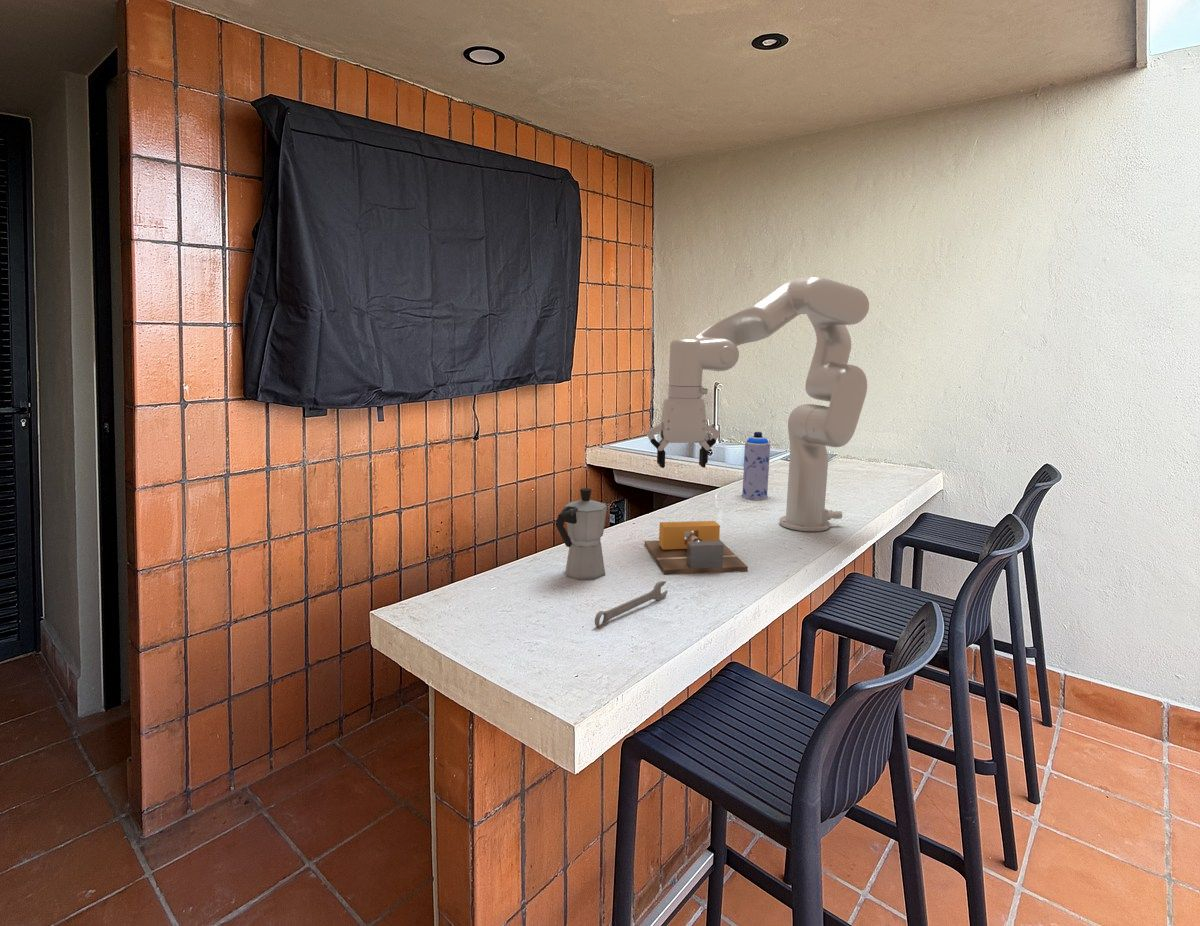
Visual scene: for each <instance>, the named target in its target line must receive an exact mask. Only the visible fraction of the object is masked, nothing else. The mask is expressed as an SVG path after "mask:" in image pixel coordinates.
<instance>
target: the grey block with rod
mask: <svg viewBox="0 0 1200 926" xmlns="http://www.w3.org/2000/svg"><path fill="white" fill-rule="evenodd" d="M685 539H687V540H688V541H689V542H687V560H686V564H687V566H688V567H689V568H690V569H700V568H723V547H724V545H723V544H722V543H721V542H720V541H702V540H701V539H699V538H698V537H697V536H696V535H695V534H694V531H685Z"/></svg>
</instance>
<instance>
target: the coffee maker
mask: <svg viewBox="0 0 1200 926" xmlns="http://www.w3.org/2000/svg"><path fill="white" fill-rule="evenodd" d="M579 490H580V491H579V492H580V498H581V499H579V500H574V501H570V502H568V503H567V504H565V505H564V507H563V508H562V510H561V512H560V513H559V514H558V515H557V519H556V521H555V527H556V528H557V531H558V533H559V534H560V535H559V536H560V537H561V539H562V541H563V543H564V545H565V547H568V553H567V559H566V565H565V575H566V577H568V578H571V579H574V580H577V581H595V580H598V579H600V578H603V577H605V576H606V569H605V562H604V555H603V550H602V549H603V548H602V542H601V538H602V537H603V536H604V532H605V523H606V516H607V510H608V505H607V503H606V502H600V501H596V500H593V499H591V494H592V488H589V487H588V488H587V487H584V488H580V489H579ZM565 523H566V528H565ZM566 529H567V530H566Z"/></svg>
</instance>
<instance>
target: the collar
mask: <svg viewBox="0 0 1200 926" xmlns="http://www.w3.org/2000/svg"><path fill="white" fill-rule="evenodd" d="M658 529H659V530H658V531H659V533H658V541H659V545H660V546H661V548H662V549H663V550H665V549H687V542H689V541H688V540H687V539H686V537H685V531H692V532H693V533H694V534H695V535H696V536H697V537H698V538H699V539H701V540H702V541H719V539H720V533H721V532H720V529H721V525H720V524H719V523H718V522H716V521H715V520H697V521H666V522H665V521H664V522H659V528H658Z"/></svg>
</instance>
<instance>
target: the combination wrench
mask: <svg viewBox="0 0 1200 926" xmlns="http://www.w3.org/2000/svg"><path fill="white" fill-rule="evenodd" d="M666 583H667V581H666V580H659V581H657V582H656V583H655V584H654V586H653V588H652V590H651V591H649V592H647V593H645V594H642V595H641V596H638V597H635V598H633V599H630V600H628V601H626V602H624V603H621V604H620V605H617V606H615V607H613V608H610V609H608V610H605V611H604V610H600V611H598V612H597V613H596V615H595V617H594V626H595V627H597V628H600V629H602V628H603V627H606V626H607V624H608V622H609V621H610V620H612V619H613V618H615V617H618V616H620V615H622V614H624V613H626V612H629V611H630V610H632V609H634V608H637V607H639V606H641V605H643V604H646V603H647V602H650V601H651V600H654V601H655V600H656V601H657V602H660V601H662V600H664V599H665V598H666V596H667V594H668V590H664V591H663V592H662V587H663V586H664V585H665V584H666ZM602 616H603V618H602ZM601 618H602V620H601ZM600 620H601V621H602V622H601V623H600Z"/></svg>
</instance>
